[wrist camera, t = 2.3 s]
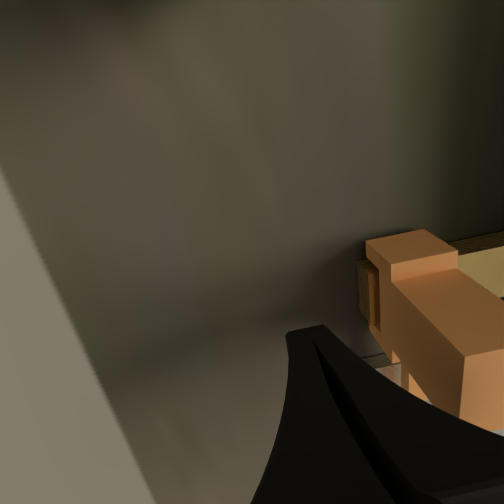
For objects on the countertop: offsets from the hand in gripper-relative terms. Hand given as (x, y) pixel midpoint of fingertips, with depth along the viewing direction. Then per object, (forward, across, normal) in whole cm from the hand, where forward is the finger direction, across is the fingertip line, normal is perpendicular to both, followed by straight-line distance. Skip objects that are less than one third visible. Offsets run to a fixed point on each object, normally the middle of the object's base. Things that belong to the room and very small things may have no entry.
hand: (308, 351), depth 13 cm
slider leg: (+3, -5, +3) cm, 6 cm away
